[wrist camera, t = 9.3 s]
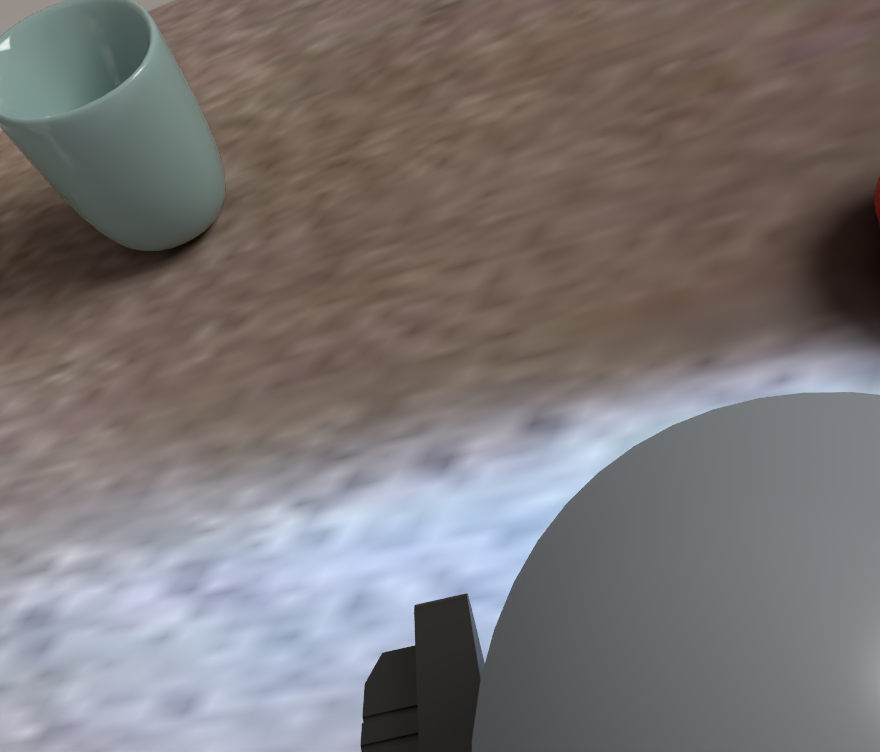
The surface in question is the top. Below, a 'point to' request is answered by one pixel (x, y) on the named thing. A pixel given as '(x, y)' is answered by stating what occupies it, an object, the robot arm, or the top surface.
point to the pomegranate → (877, 200)
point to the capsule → (704, 594)
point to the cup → (111, 122)
